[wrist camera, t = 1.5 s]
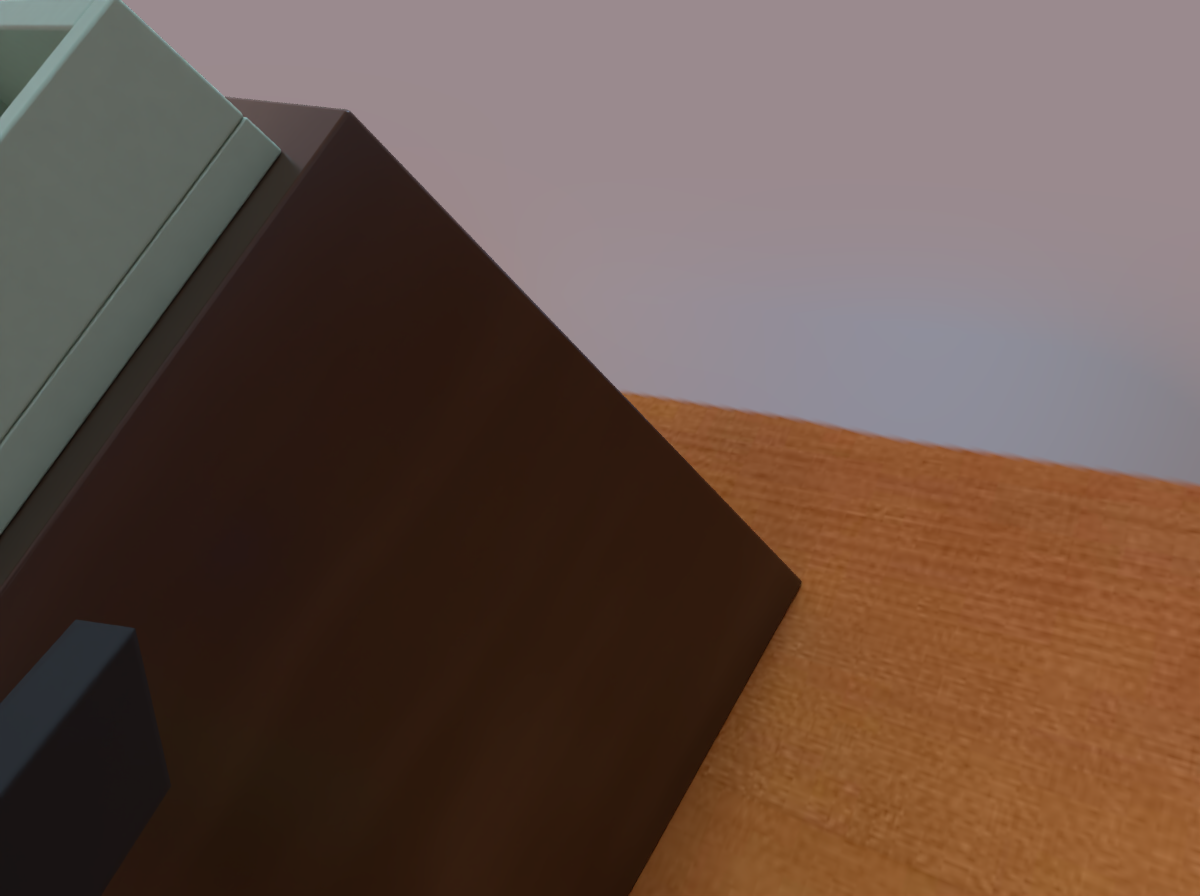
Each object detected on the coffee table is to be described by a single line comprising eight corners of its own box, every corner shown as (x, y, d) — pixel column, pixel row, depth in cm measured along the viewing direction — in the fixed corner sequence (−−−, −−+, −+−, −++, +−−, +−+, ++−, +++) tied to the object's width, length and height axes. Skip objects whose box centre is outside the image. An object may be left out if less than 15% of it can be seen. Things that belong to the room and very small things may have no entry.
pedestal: (803, 581, 37) (349, 107, 20) (572, 998, 34) (-195, 858, 17) (519, 457, 48) (64, 78, 31) (323, 766, 45) (-302, 537, 28)
